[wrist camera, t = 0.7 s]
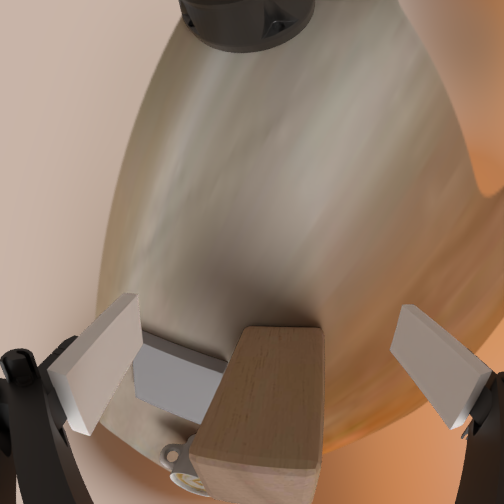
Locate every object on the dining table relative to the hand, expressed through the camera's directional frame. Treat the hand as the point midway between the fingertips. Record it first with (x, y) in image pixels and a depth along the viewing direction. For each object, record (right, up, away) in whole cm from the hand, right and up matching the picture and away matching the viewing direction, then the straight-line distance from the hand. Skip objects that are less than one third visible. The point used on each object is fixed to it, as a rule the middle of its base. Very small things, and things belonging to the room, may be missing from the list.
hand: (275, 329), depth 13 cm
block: (+3, -10, +22) cm, 25 cm away
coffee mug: (-11, -34, +33) cm, 49 cm away
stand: (-13, -16, +28) cm, 34 cm away
